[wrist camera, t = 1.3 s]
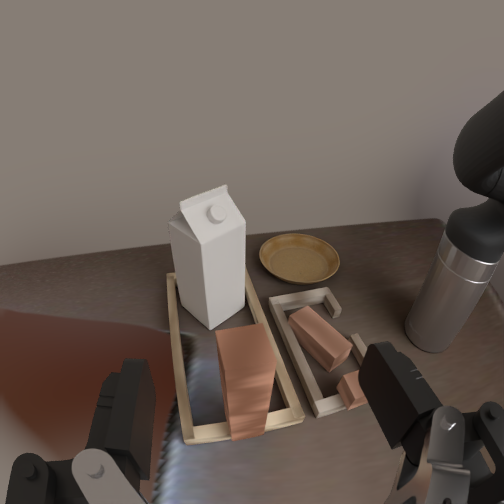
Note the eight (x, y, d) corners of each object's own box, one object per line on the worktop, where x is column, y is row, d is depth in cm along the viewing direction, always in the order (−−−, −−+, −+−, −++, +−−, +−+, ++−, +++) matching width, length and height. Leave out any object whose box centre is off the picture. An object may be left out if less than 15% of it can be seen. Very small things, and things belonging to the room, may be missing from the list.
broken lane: (325, 294, 48) (331, 272, 45) (387, 398, 32) (402, 379, 29) (268, 305, 46) (270, 282, 43) (318, 424, 29) (328, 408, 27)
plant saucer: (351, 282, 51) (355, 271, 49) (276, 301, 47) (277, 289, 45) (314, 239, 62) (316, 229, 61) (248, 250, 58) (248, 239, 57)
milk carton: (181, 305, 45) (163, 193, 34) (215, 285, 49) (209, 177, 38) (210, 331, 41) (198, 212, 30) (245, 307, 45) (246, 192, 34)
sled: (244, 271, 52) (245, 181, 42) (304, 428, 29) (344, 343, 19) (168, 281, 49) (153, 190, 40) (187, 452, 26) (146, 381, 16)
